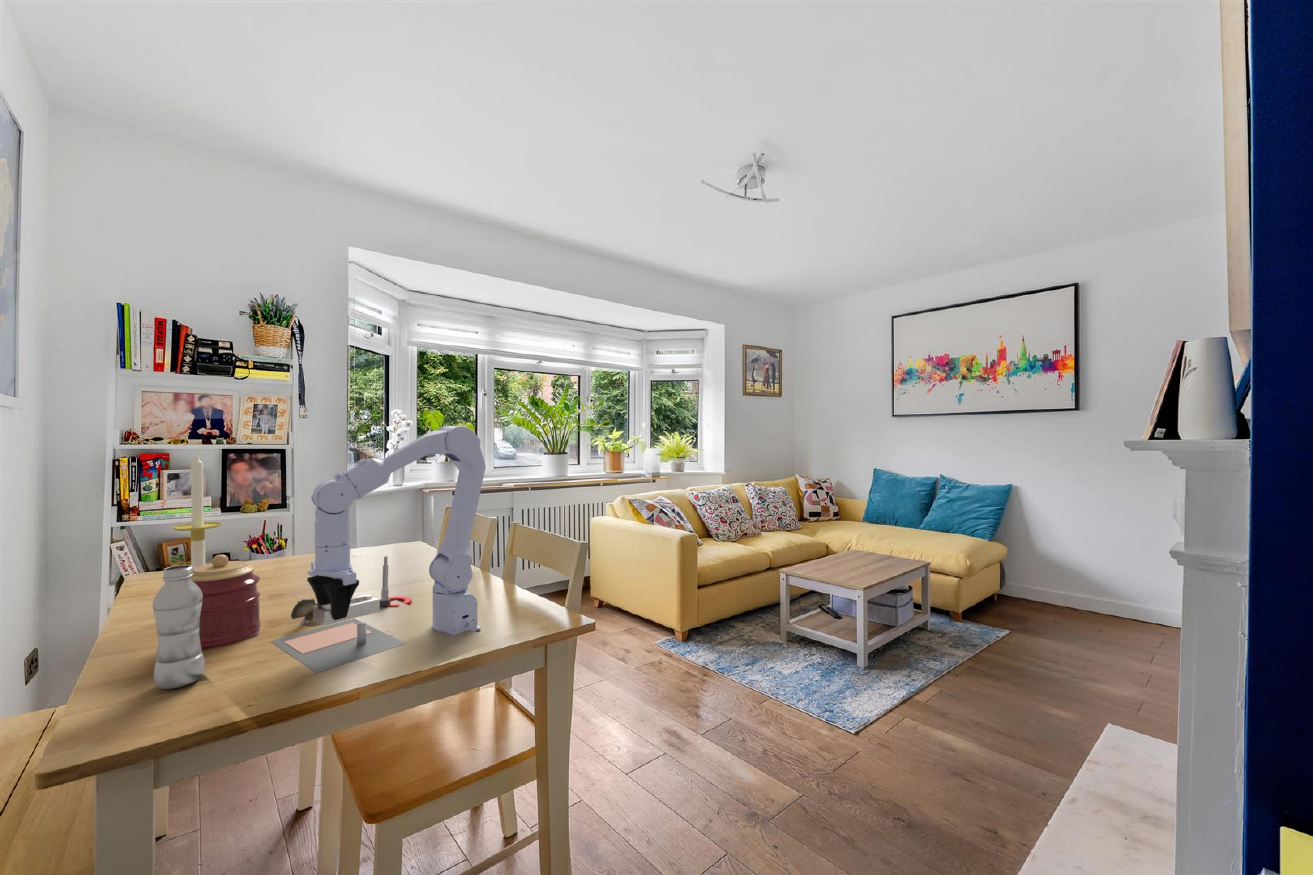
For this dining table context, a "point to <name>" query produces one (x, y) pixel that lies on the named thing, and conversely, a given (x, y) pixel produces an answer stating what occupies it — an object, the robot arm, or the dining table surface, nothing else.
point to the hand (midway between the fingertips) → (333, 615)
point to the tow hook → (386, 600)
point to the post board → (336, 644)
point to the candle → (197, 516)
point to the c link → (356, 609)
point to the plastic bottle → (178, 629)
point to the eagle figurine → (305, 612)
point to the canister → (227, 602)
